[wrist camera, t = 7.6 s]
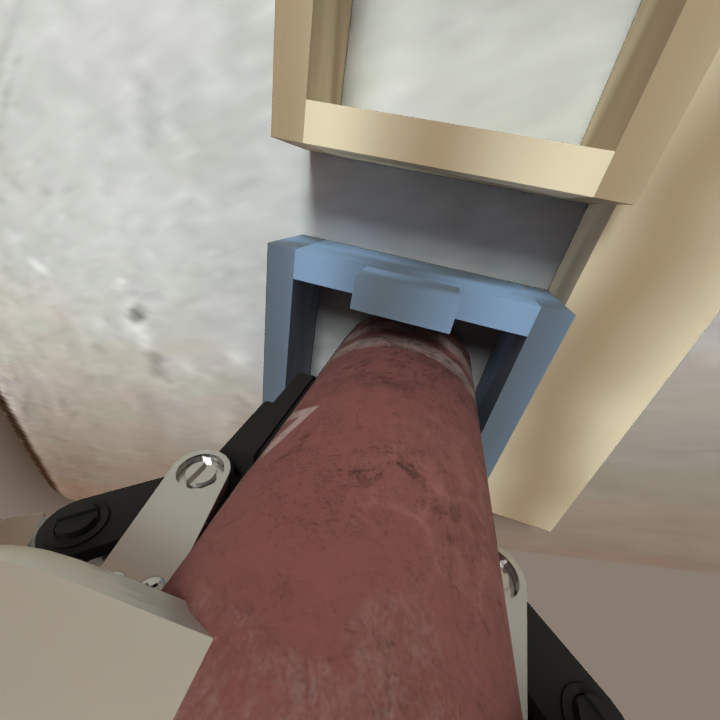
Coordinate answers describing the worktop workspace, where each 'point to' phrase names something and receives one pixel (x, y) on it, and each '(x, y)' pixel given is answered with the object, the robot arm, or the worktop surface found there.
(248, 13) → the worktop surface
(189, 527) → the robot arm
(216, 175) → the worktop surface
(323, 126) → the open rectangular box frame
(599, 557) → the worktop surface
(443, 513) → the can
